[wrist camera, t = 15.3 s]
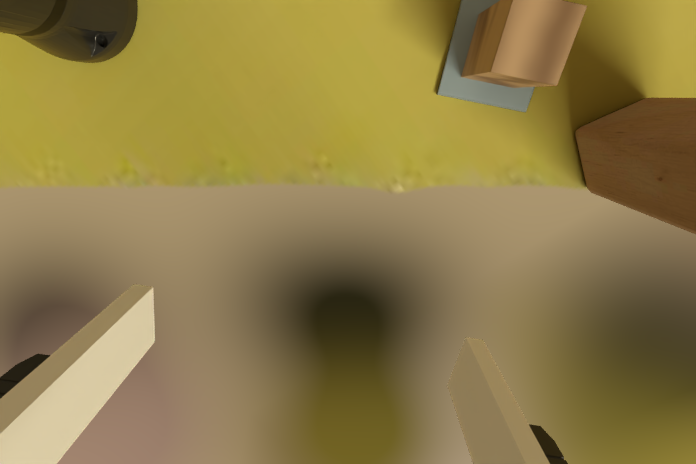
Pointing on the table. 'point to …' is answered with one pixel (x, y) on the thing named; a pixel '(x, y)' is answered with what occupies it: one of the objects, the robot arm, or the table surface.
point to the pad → (451, 79)
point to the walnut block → (523, 42)
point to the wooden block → (645, 158)
